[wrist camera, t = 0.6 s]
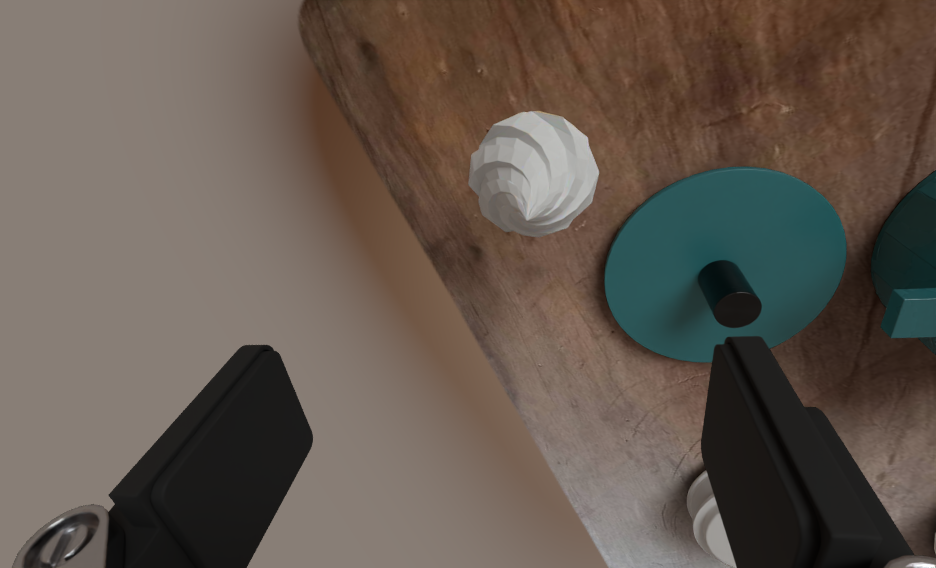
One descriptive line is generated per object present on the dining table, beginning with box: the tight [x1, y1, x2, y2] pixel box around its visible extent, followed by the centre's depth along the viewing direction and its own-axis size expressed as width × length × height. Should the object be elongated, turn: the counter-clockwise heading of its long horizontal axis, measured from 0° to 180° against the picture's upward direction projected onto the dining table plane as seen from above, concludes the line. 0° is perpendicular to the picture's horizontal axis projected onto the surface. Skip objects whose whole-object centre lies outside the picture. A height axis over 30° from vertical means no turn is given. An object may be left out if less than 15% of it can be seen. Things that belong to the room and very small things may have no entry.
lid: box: [687, 471, 737, 568], centre depth 41 cm, size 13×13×5 cm
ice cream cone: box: [468, 111, 599, 237], centre depth 24 cm, size 6×6×15 cm
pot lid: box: [604, 167, 846, 362], centre depth 31 cm, size 15×15×5 cm
